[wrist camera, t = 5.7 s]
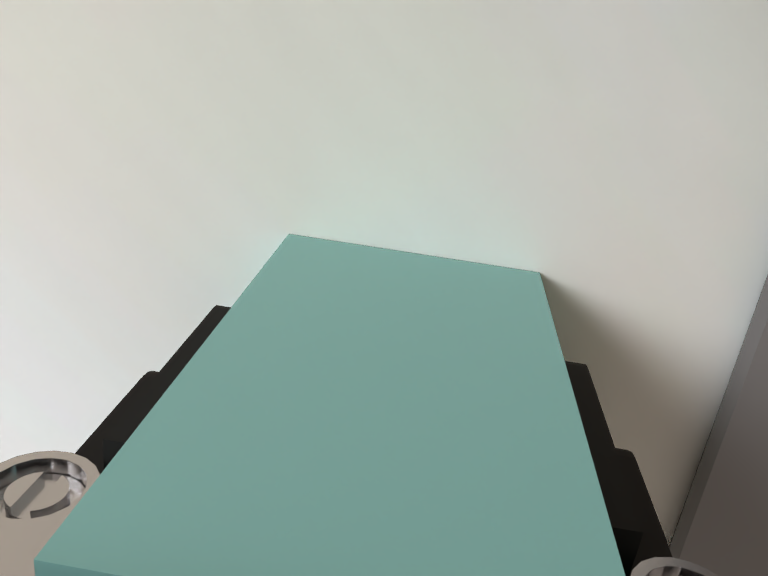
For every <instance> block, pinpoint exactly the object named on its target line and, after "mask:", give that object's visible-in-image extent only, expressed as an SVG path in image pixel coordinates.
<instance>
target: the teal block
mask: <svg viewBox="0 0 768 576" xmlns="http://www.w3.org/2000/svg"><path fill="white" fill-rule="evenodd" d="M34 570H35V576H625V573H624V569H623V566H622V562H621V559H620V555H619V552H618V548H617V544H616V541H615V537H614V534H613V530H612V527H611V523H610V520H609V516H608V513H607V509H606V506H605V502H604V498H603V495H602V491H601V488H600V484H599V481H598V477H597V474H596V470H595V467H594V463H593V460H592V456H591V453H590V449H589V445H588V442H587V438H586V435H585V431H584V428H583V424H582V421H581V417H580V414H579V410H578V407H577V403H576V400H575V396H574V392H573V389H572V385H571V382H570V378H569V375H568V371H567V368H566V364H565V361H564V357H563V354H562V350H561V346H560V343H559V339H558V336H557V332H556V329H555V325H554V322H553V318H552V315H551V311H550V308H549V304H548V301H547V297H546V293H545V290H544V286H543V283H542V279H541V276H540V273H539V272H532V271H526V270H519V269H513V268H506V267H500V266H494V265H487V264H481V263H474V262H468V261H461V260H455V259H448V258H442V257H435V256H429V255H422V254H416V253H409V252H403V251H396V250H390V249H383V248H377V247H370V246H364V245H358V244H351V243H345V242H338V241H332V240H325V239H319V238H312V237H306V236H299V235H293V234H289V235H288V236H287V237H286V238H285V240H284V241H283V242H282V244H281V245H280V246H279V247H278V249H277V250H276V251H275V252H274V254H273V255H272V256H271V258H270V259H269V260H268V261H267V263H266V264H265V265H264V266H263V268H262V269H261V270H260V272H259V273H258V274H257V275H256V277H255V278H254V279H253V280H252V282H251V283H250V284H249V286H248V287H247V288H246V289H245V291H244V292H243V293H242V295H241V296H240V297H239V298H238V300H237V301H236V302H235V303H234V305H233V306H232V307H231V309H230V310H229V311H228V312H227V314H226V315H225V316H224V317H223V319H222V320H221V321H220V323H219V324H218V325H217V326H216V328H215V329H214V330H213V331H212V333H211V334H210V335H209V337H208V338H207V339H206V340H205V342H204V343H203V344H202V346H201V347H200V348H199V349H198V351H197V352H196V353H195V354H194V356H193V357H192V358H191V360H190V361H189V362H188V363H187V365H186V366H185V367H184V368H183V370H182V371H181V372H180V374H179V375H178V376H177V377H176V379H175V380H174V381H173V382H172V384H171V385H170V386H169V388H168V389H167V390H166V391H165V393H164V394H163V395H162V397H161V398H160V399H159V400H158V402H157V403H156V404H155V405H154V407H153V408H152V409H151V411H150V412H149V413H148V414H147V416H146V417H145V418H144V419H143V421H142V422H141V423H140V425H139V426H138V427H137V428H136V430H135V431H134V432H133V433H132V435H131V436H130V437H129V439H128V440H127V441H126V442H125V444H124V445H123V446H122V448H121V449H120V450H119V451H118V453H117V454H116V455H115V456H114V458H113V459H112V460H111V462H110V463H109V464H108V465H107V467H106V468H105V469H104V470H103V472H102V473H101V474H100V476H99V477H98V478H97V479H96V481H95V482H94V483H93V484H92V486H91V487H90V488H89V490H88V491H87V492H86V493H85V495H84V496H83V497H82V499H81V500H80V501H79V502H78V504H77V505H76V506H75V507H74V509H73V510H72V511H71V513H70V514H69V515H68V516H67V518H66V519H65V520H64V521H63V523H62V524H61V525H60V527H59V528H58V529H57V530H56V532H55V533H54V534H53V536H52V537H51V538H50V539H49V541H48V542H47V543H46V544H45V546H44V547H43V548H42V550H41V551H40V552H39V553H38V555H37V556H36V557H35V558H34Z"/></svg>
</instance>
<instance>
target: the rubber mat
mask: <svg viewBox="0 0 768 576" xmlns="http://www.w3.org/2000/svg"><path fill="white" fill-rule="evenodd" d="M669 549H670V552H671V554H672V557H673V558H677V559H681V560H686V561H690V562H692V563H695V564H697V565H699V566H702V567H704V568H706V569H709V570H710V571H712V572H714V573H715V574H717V575H718V576H768V276H767V278H766V281H765V284H764V287H763V289H762V292H761V295H760V298H759V300H758V303H757V306H756V309H755V312H754V314H753V317H752V320H751V323H750V325H749V328H748V331H747V334H746V336H745V339H744V342H743V345H742V348H741V350H740V353H739V356H738V359H737V361H736V364H735V367H734V370H733V372H732V375H731V378H730V381H729V384H728V386H727V389H726V392H725V395H724V397H723V400H722V403H721V406H720V408H719V411H718V414H717V417H716V420H715V422H714V425H713V428H712V431H711V433H710V436H709V439H708V442H707V444H706V447H705V450H704V453H703V456H702V458H701V461H700V464H699V467H698V469H697V472H696V475H695V478H694V480H693V483H692V486H691V489H690V492H689V494H688V497H687V500H686V503H685V505H684V508H683V511H682V514H681V516H680V519H679V522H678V525H677V528H676V530H675V533H674V536H673V539H672V541H671V544H670V547H669Z"/></svg>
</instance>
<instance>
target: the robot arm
mask: <svg viewBox="0 0 768 576" xmlns="http://www.w3.org/2000/svg"><path fill="white" fill-rule="evenodd" d="M230 309H231V307H224V306H218V305H216V306H215V307H214V308H213V309H212V310H211V311H210V312H209V314H208V315H207V316H206V317H205V318H204V320H203V321H202V322H201V323H200V324H199V325H198V327H197V328H196V329H195V330H194V331H193V333H192V334H191V335H190V336H189V337H188V339H187V340H186V341H185V342H184V343H183V344H182V346H181V347H180V348H179V349H178V350H177V352H176V353H175V354H174V355H173V356H172V357H171V359H170V360H169V361H168V362H167V363H166V365H165V366H164V367H163V368H162V369H161V370H160V372H155V371H149V372H147V373H146V374H145V375H144V376H143V377H142V378H141V379H140V380H139V381H138V382H137V384H136V385H135V386H134V387H133V388H132V389H131V390H130V392H129V393H128V394H127V395H126V396H125V397H124V398H123V399H122V401H121V402H120V403H119V404H118V405H117V406H116V407H115V409H114V410H113V411H112V412H111V413H110V414H109V415H108V417H107V418H106V419H105V420H104V421H103V422H102V423H101V425H100V426H99V427H98V428H97V429H96V430H95V431H94V432H93V434H92V435H91V436H90V437H89V438H88V439H87V440H86V442H85V443H84V444H83V445H82V446H81V447H80V448H79V450H78V451H77V452H76V453H75V454H74V453H69V452H61V451H43V452H33V453H29V454H25V455H20V456H16V457H14V458H11V459H9V460H7V461H4V462H2V463H0V576H35V570H34V558H35V557H36V556H37V555H38V553H39V552H40V551H41V550H42V548H43V547H44V546H45V544H46V543H47V542H48V541H49V539H50V538H51V537H52V536H53V534H54V533H55V532H56V530H57V529H58V528H59V527H60V525H61V524H62V523H63V521H64V520H65V519H66V518H67V516H68V515H69V514H70V513H71V511H72V510H73V509H74V507H75V506H76V505H77V504H78V502H79V501H80V500H81V499H82V497H83V496H84V495H85V493H86V492H87V491H88V490H89V488H90V487H91V486H92V484H93V483H94V482H95V481H96V479H97V478H98V477H99V476H100V474H101V473H102V472H103V470H104V469H105V468H106V467H107V465H108V464H109V463H110V462H111V460H112V459H113V458H114V456H115V455H116V454H117V453H118V451H119V450H120V449H121V448H122V446H123V445H124V444H125V442H126V441H127V440H128V439H129V437H130V436H131V435H132V433H133V432H134V431H135V430H136V428H137V427H138V426H139V425H140V423H141V422H142V421H143V419H144V418H145V417H146V416H147V414H148V413H149V412H150V411H151V409H152V408H153V407H154V405H155V404H156V403H157V402H158V400H159V399H160V398H161V397H162V395H163V394H164V393H165V391H166V390H167V389H168V388H169V386H170V385H171V384H172V382H173V381H174V380H175V379H176V377H177V376H178V375H179V374H180V372H181V371H182V370H183V368H184V367H185V366H186V365H187V363H188V362H189V361H190V360H191V358H192V357H193V356H194V354H195V353H196V352H197V351H198V349H199V348H200V347H201V346H202V344H203V343H204V342H205V340H206V339H207V338H208V337H209V335H210V334H211V333H212V331H213V330H214V329H215V328H216V326H217V325H218V324H219V323H220V321H221V320H222V319H223V317H224V316H225V315H226V314H227V312H228V311H229V310H230ZM565 364H566V368H567V371H568V375H569V378H570V382H571V385H572V389H573V392H574V396H575V400H576V403H577V407H578V410H579V414H580V417H581V421H582V424H583V428H584V431H585V435H586V438H587V442H588V445H589V449H590V453H591V456H592V460H593V463H594V467H595V470H596V474H597V477H598V481H599V484H600V488H601V491H602V495H603V498H604V502H605V506H606V509H607V513H608V516H609V520H610V523H611V527H612V530H613V534H614V537H615V541H616V544H617V548H618V552H619V555H620V559H621V562H622V566H623V569H624V573H625V576H718V575H717V574H715V573H714V572H712V571H710V570H709V569H706V568H704V567H702V566H699V565H697V564H695V563H692V562H690V561H686V560H681V559H677V558H673V557H672V554H671V552H670V549H669V546H668V544H667V541H666V538H665V536H664V533H663V530H662V528H661V525H660V522H659V520H658V517H657V514H656V512H655V509H654V507H653V504H652V501H651V499H650V496H649V493H648V491H647V488H646V485H645V483H644V480H643V477H642V475H641V472H640V470H639V467H638V464H637V462H636V459H635V457H634V455H633V453H632V452H630V451H628V450H623V449H617V448H615V446H614V444H613V441H612V438H611V435H610V432H609V429H608V426H607V423H606V420H605V417H604V414H603V411H602V408H601V405H600V402H599V400H598V397H597V394H596V391H595V388H594V385H593V382H592V379H591V376H590V373H589V370H588V367H587V366H586V365H585V364H579V363H573V362H567V361H565Z"/></svg>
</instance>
